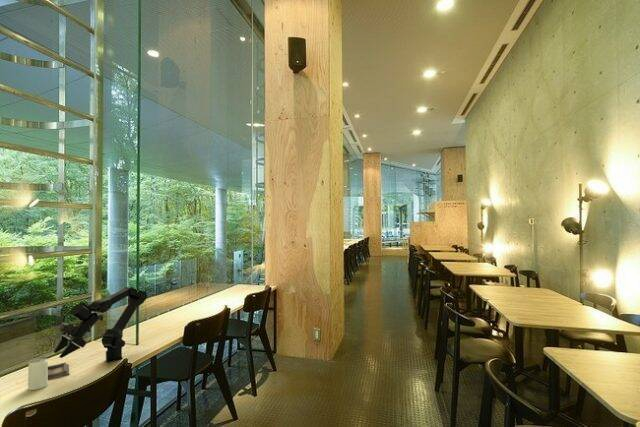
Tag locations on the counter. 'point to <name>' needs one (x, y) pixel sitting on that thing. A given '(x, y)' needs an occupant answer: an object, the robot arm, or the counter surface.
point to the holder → (58, 370)
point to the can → (37, 373)
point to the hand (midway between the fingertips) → (57, 355)
